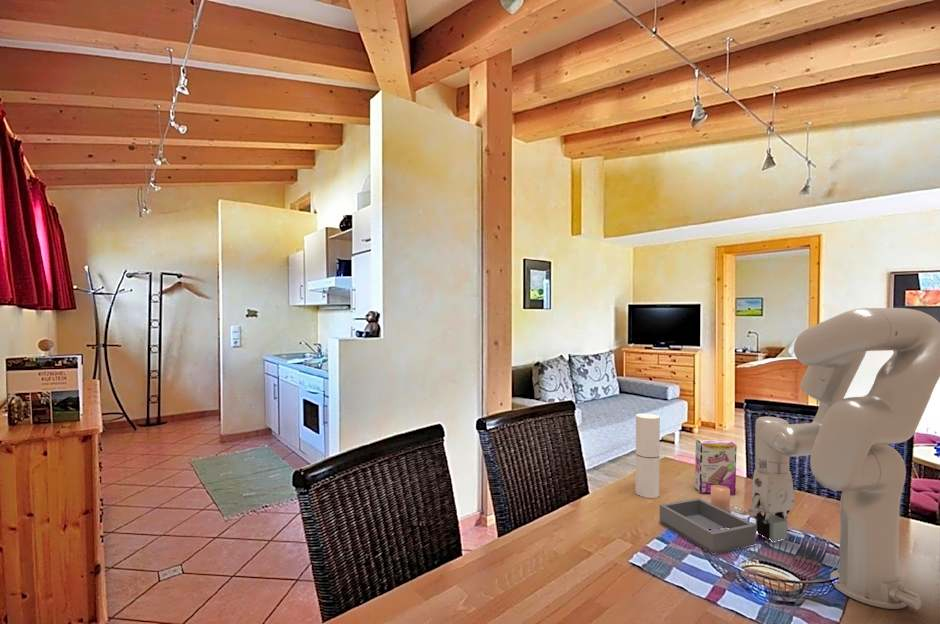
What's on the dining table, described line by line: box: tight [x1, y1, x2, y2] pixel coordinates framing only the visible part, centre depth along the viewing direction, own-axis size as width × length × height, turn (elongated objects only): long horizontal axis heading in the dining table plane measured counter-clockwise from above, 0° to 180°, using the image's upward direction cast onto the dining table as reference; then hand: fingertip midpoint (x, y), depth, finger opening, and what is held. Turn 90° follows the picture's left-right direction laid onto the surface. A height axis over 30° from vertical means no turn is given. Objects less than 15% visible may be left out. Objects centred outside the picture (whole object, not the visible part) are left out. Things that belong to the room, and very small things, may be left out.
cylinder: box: [710, 485, 731, 513], centre depth 138 cm, size 5×5×7 cm
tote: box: [659, 497, 757, 554], centre depth 125 cm, size 18×14×5 cm
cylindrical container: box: [634, 412, 661, 499], centre depth 151 cm, size 7×7×25 cm
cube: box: [755, 513, 788, 542], centre depth 123 cm, size 5×5×5 cm
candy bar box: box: [694, 439, 738, 496], centre depth 153 cm, size 11×5×16 cm, turn 84°
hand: (771, 534), depth 123 cm, fingers closed on cube, 5 cm apart
